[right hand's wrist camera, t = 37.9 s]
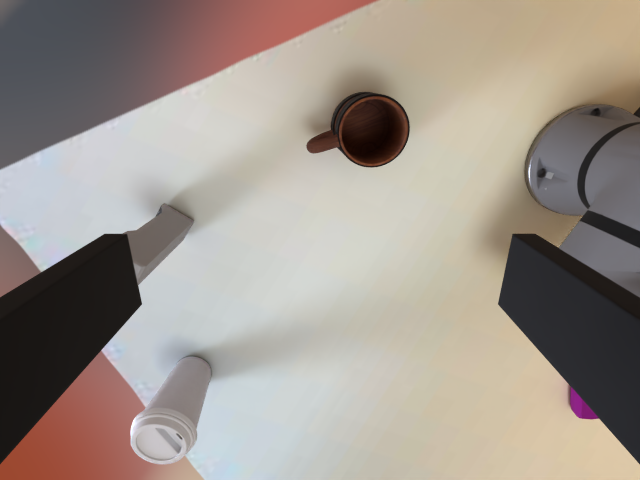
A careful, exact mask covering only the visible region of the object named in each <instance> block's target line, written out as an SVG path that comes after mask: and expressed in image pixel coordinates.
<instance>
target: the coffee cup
mask: <svg viewBox="0 0 640 480" xmlns="http://www.w3.org/2000/svg"><path fill="white" fill-rule="evenodd" d="M210 378H211V368H210V366H209V364H208V363H207V362H206V361H204V360H203V359H201V358H198V357H185V358H183V359H181V360H180V361H179V362H178V363H177V364H176V366H175V367H174V369H173V370H172V371H171V373H170V374H169V376H168V377H167V379H166V380H165V381H164V383H163V384H162V386H161V387H160V389H159V390H158V391H157V393H156V394H155V396H154V397H153V399H152V400H151V401H150V403H149V404H148V406H147V407H146V409H145V410H144V411H143V412H141V413H140V414H138V415H137V416H136V418H135V419H134V421H133V423H132V427H131V446H132V448H133V450H134V451H135V453H136V454H137V455H138V456H140V457H141V458H143V459H144V460H146V461H149V462H152V463H156V464H170V463H174V462H176V461H178V460H180V459H181V458H182V457H183V456H184V455H185V454H187V453H188V452H189V451H190V450H191V448H192V447H193V446H194V444H195V442H196V440H197V430H196V428H197V425H198V421H199V417H200V414H201V410H202V406H203V403H204V399H205V396H206V392H207V388H208V385H209V381H210Z"/></svg>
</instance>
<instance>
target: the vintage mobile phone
mask: <svg viewBox="0 0 640 480" xmlns="http://www.w3.org/2000/svg"><path fill="white" fill-rule="evenodd" d="M193 222H194V221H193V220H192V219H190V218H188V217H186V216H185V215H183V214H181V213H180V212H178V211H176V210H175V209H173V208H171V207H170V206H168V205H166V204H163V205H162V206H161V207H160V209H159V211H158V213H157V215H156V217H155V218H154V219H152V220H151V221H149V222H148V223H146V224H145V225H143V226H142V227H141V228H139V229H138V230H135V231H127V232H125V233H123V234H127V235H128V240H129V245H130V249H131V254H132V259H133V264H134V269H135V273H136V278H137V283H138V285H139V284H140V283H141V282H142V281H143V280H144V279H145V278H146V277H147V276H148V275H149V274H150V273H151V272H152V271H153V270H154V269H155V268H156V267H157V266H158V265H159V264H160V263H161V262H162V261H163V260H164V259H165V258H166V257H167V256H168V255H169V254H170V253H171V252H172V251H173V250H174V249H175V248H176V247H177V246H178V245H179V244H180V243H181V242H182V241H183V240H184V238H185V236H186V234H187V233H188V231H189V229H190V227H191V226H192V224H193Z"/></svg>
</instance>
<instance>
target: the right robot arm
mask: <svg viewBox="0 0 640 480" xmlns="http://www.w3.org/2000/svg"><path fill="white" fill-rule="evenodd" d="M525 180H526V184H527V187H528V190H529V192H530V194H531V195H532V197H533V198H534V199H535V200H536V201H537V202H538V203H539V204H540V205H542V206H543V207H545V208H547V209H549V210H551V211H554V212H556V213H560V214H565V215H572V216H580V215H583V217H582V218H581V219H580V221H579V222H578V223H577V225H576V226H575V227H574V229H573V230H572V231H571V232H570V234H569V235H568V236H567V238H566V239H565V240H564V242H563V243H562V244H561V246H560V247H559V248H558V247H556V246H554V245H553V244H551V243H549V242H548V241H546V240H544V239H543V238H541V237H539V236H538V235H536V234H513V235H512V240H511V245H510V249H509V254H508V259H507V264H506V269H505V273H504V278H503V283H502V288H501V293H500V297H499V302H498V305H499V306H500V307H501V308H502V309H503V310H504V311H505V313H506V314H507V315H508V316H509V317H510V318H511V319H512V320H513V322H514V323H515V324H516V325H517V326H518V327H519V328H520V329H521V331H522V332H523V333H524V334H525V335H526V336H527V337H528V339H529V340H530V341H531V342H532V343H533V344H534V345H535V346H536V348H537V349H538V350H539V351H540V352H541V353H542V354H543V355H544V357H545V358H546V359H547V360H548V361H549V362H550V363H551V364H552V366H553V367H554V368H555V369H556V370H557V371H558V372H559V374H560V375H561V376H562V377H563V378H564V379H565V380H566V381H567V383H568V384H569V385H570V386H571V387H572V388H573V389H574V390H575V392H576V393H577V394H578V395H579V396H580V397H581V398H582V400H583V401H584V402H585V403H586V404H587V405H588V406H589V407H590V409H591V410H592V411H593V412H594V413H595V414H596V415H597V416H598V418H599V419H600V420H601V421H602V422H603V423H604V424H605V425H606V427H607V428H608V429H609V430H610V431H611V432H612V433H613V435H614V436H615V437H616V438H617V439H618V440H619V441H620V442H621V444H622V445H623V446H624V447H625V448H626V449H627V450H628V451H629V453H630V454H631V455H632V456H633V457H634V458H635V459H636V460H637V462H638V463H639V464H640V107H639V109H638V110H637V111H636V112H635V113H634V114H631V113H630V112H628V111H626V110H624V109H621V108H618V107H614V106H610V105H584V106H579V107H576V108H573V109H570V110H568V111H566V112H564V113H562V114H561V115H559V116H557V117H556V118H555V119H553V120H552V121H551V122H550V123H549V124H547V125H546V126H545V127H544V128H543V130H542V131H541V132H540V133H539V134H538V136H537V137H536V139H535V140H534V142H533V144H532V146H531V148H530V150H529V153H528V156H527V159H526V165H525ZM141 305H142V302H141V297H140V293H139V288H138V283H137V278H136V273H135V269H134V264H133V259H132V254H131V249H130V245H129V240H128V235H127V234H104V235H102V236H101V237H99V238H97V239H96V240H94V241H92V242H91V243H89V244H87V245H86V246H84V247H82V248H81V249H79V250H78V251H76V252H74V253H73V254H71V255H69V256H68V257H66V258H64V259H63V260H61V261H59V262H58V263H56V264H54V265H53V266H51V267H50V268H48V269H46V270H45V271H43V272H41V273H40V274H38V275H36V276H35V277H33V278H31V279H30V280H28V281H27V282H25V283H23V284H22V285H20V286H18V287H17V288H15V289H13V290H12V291H10V292H8V293H7V294H5V295H3V296H2V297H0V464H1V463H2V462H3V460H4V459H5V458H6V457H7V456H8V455H9V454H10V452H11V451H12V450H13V449H14V448H15V447H16V446H17V445H18V444H19V442H20V441H21V440H22V439H23V438H24V437H25V436H26V435H27V433H28V432H29V431H30V430H31V429H32V428H33V427H34V425H35V424H36V423H37V422H38V421H39V420H40V419H41V418H42V416H43V415H44V414H45V413H46V412H47V411H48V410H49V409H50V407H51V406H52V405H53V404H54V403H55V402H56V401H57V399H58V398H59V397H60V396H61V395H62V394H63V393H64V392H65V390H66V389H67V388H68V387H69V386H70V385H71V384H72V383H73V381H74V380H75V379H76V378H77V377H78V376H79V375H80V373H81V372H82V371H83V370H84V369H85V368H86V367H87V366H88V364H89V363H90V362H91V361H92V360H93V359H94V358H95V357H96V355H97V354H98V353H99V352H100V351H101V350H102V349H103V348H104V346H105V345H106V344H107V343H108V342H109V341H110V340H111V339H112V337H113V336H114V335H115V334H116V333H117V332H118V331H119V329H120V328H121V327H122V326H123V325H124V324H125V323H126V322H127V320H128V319H129V318H130V317H131V316H132V315H133V314H134V313H135V311H136V310H137V309H138V308H139V307H140V306H141Z"/></svg>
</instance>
